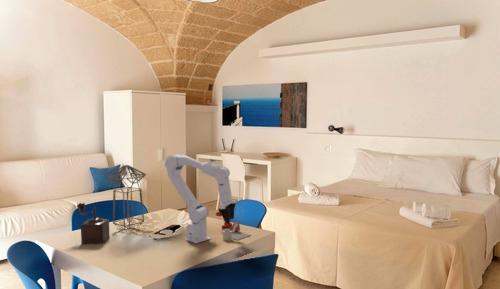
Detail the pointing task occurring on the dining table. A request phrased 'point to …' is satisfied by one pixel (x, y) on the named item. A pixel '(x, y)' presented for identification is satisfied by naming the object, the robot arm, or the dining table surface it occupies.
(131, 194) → the geometric lantern
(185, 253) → the dining table surface
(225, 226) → the red flower sprig
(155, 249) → the dining table surface
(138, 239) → the dining table surface
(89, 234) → the coffee grinder
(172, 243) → the dining table surface
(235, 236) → the mat
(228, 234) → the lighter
